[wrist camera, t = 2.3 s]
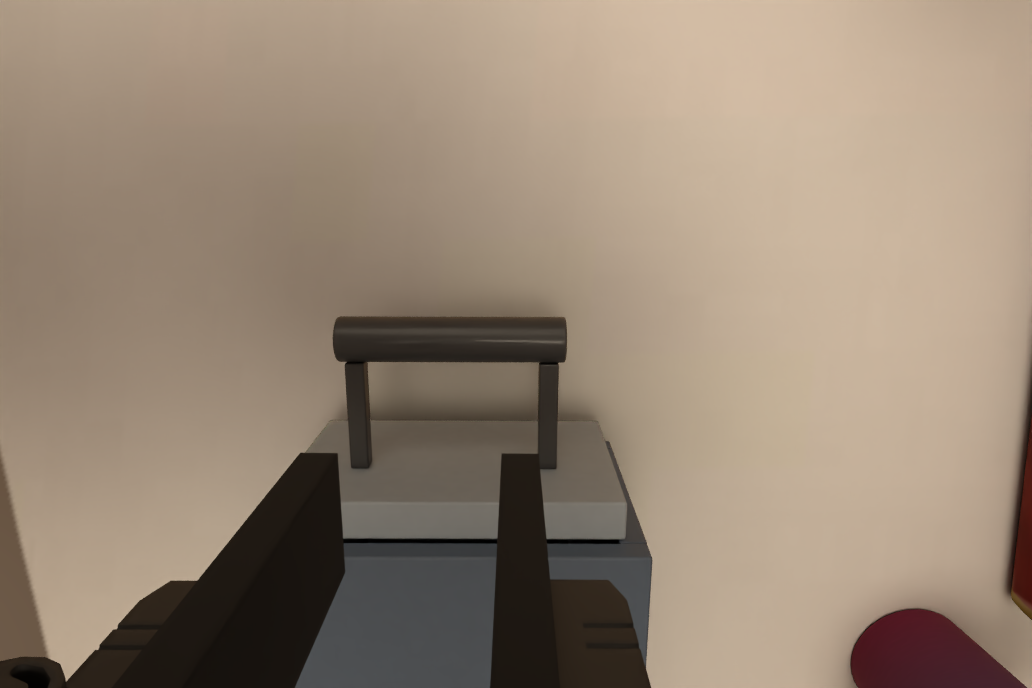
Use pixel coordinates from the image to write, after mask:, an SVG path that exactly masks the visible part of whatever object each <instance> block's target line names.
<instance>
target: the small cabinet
mask: <svg viewBox="0 0 1032 688" xmlns="http://www.w3.org/2000/svg"><path fill="white" fill-rule="evenodd" d="M605 443H606V446H607V449H608V451H609V454H610V457H611V460H612V463H613V466H614V468H615V471H616V474H617V477H618V480H619V482H620V485H621V488H622V491H623V494H624V497H625V499H626V502H627V521H626V537H625V539H623V540H605V539H591V541H592V544H547V550H548V561H549V572H550V579H569V580H609V581H610V582H611V583H612V584H613V585H614V586H615V587H616V588H617V589H618V590H619V592H620V593H621V594H622V595H623V596H624V597H625V598H626V599H627V602H628V605H629V609H630V613H631V616H632V620H633V626H634V628H635V631H636V635H637V638H638V642H639V649H641V653H642V657H643V660H644V664H645V668H646V656H647V640H648V623H649V606H650V590H651V573H652V557H651V554H650V551H649V549H648V546H647V542H646V540H645V537H644V534H643V532H642V529H641V526H640V524H639V521H638V518H637V516H636V513H635V510H634V507H633V505H632V502H631V499H630V497H629V494H628V491H627V489H626V486H625V483H624V480H623V478H622V475H621V472H620V470H619V467H618V464H617V462H616V459H615V456H614V453H613V451H612V448H611V446H610V443H609V441H605ZM496 557H497V544H482V543H344V559H345V574H344V576H343V579H342V581H341V583H340V586H339V588H338V590H337V592H336V595H335V597H334V599H333V602H332V604H331V606H330V608H329V611H328V613H327V615H326V618H325V620H324V622H323V624H322V627H321V629H320V631H319V634H318V636H317V638H316V640H315V643H314V645H313V647H312V649H311V652H310V654H309V656H308V659H307V661H306V663H305V665H304V668H303V670H302V672H301V675H300V677H299V679H298V681H297V684H296V686H295V688H490V681H491V660H492V639H493V619H494V598H495V578H496Z"/></svg>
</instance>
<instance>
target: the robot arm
mask: <svg viewBox="0 0 1032 688" xmlns="http://www.w3.org/2000/svg"><path fill="white" fill-rule="evenodd" d="M344 574H345V559H344V543H343V528H342V512H341V496H340V481H339V465H338V453H300V454H299V455H298V456H297V458H296V459H295V460H294V461H293V463H292V464H291V465H290V466H289V468H288V469H287V470H286V471H285V473H284V474H283V475H282V476H281V478H280V479H279V480H278V481H277V483H276V484H275V485H274V486H273V488H272V489H271V490H270V491H269V492H268V494H267V495H266V496H265V497H264V499H263V500H262V501H261V502H260V504H259V505H258V506H257V507H256V509H255V510H254V511H253V512H252V514H251V515H250V516H249V517H248V519H247V520H246V521H245V522H244V524H243V525H242V526H241V527H240V529H239V530H238V531H237V532H236V534H235V535H234V536H233V537H232V539H231V540H230V541H229V542H228V543H227V545H226V546H225V547H224V548H223V550H222V551H221V552H220V553H219V555H218V556H217V557H216V558H215V560H214V561H213V562H212V563H211V565H210V566H209V567H208V568H207V570H206V571H205V572H204V573H203V575H202V576H201V577H200V578H199V580H198V581H170V582H168V583H167V584H165V585H164V586H162V587H160V588H159V589H157V590H156V591H154V592H153V593H151V594H150V595H148V596H146V597H145V598H143V599H142V600H140V601H139V602H138V603H137V604H136V605H135V606H134V608H133V609H132V610H131V611H130V612H129V613H128V614H127V615H126V616H125V618H124V619H123V620H122V621H121V622H120V623H119V624H118V628H117V630H113V631H112V632H111V633H110V634H109V635H108V636H107V637H106V639H105V640H104V641H103V642H102V643H101V644H100V648H99V650H95V651H94V652H93V653H92V654H91V655H90V656H89V657H88V658H87V660H86V661H85V662H84V663H83V664H82V665H81V666H80V667H79V668H78V670H77V671H76V672H75V673H74V674H73V675H72V676H71V677H70V678H69V679H68V681H67V682H66V680H65V676H64V673H63V670H62V668H61V665H60V664H59V663H57V662H55V661H52V660H50V659H48V658H46V657H19V658H14V659H9V660H5V661H0V688H295V686H296V684H297V681H298V679H299V677H300V675H301V672H302V670H303V668H304V665H305V663H306V661H307V659H308V656H309V654H310V652H311V649H312V647H313V645H314V643H315V640H316V638H317V636H318V634H319V631H320V629H321V627H322V624H323V622H324V620H325V618H326V615H327V613H328V611H329V608H330V606H331V604H332V602H333V599H334V597H335V595H336V592H337V590H338V588H339V586H340V583H341V581H342V579H343V576H344ZM490 688H651V686H650V682H649V679H648V675H647V671H646V668H645V664H644V660H643V657H642V653H641V649H639V642H638V638H637V635H636V631H635V628H634V626H633V620H632V616H631V613H630V609H629V605H628V602H627V599H626V598H625V597H624V596H623V595H622V594H621V593H620V592H619V590H618V589H617V588H616V587H615V586H614V585H613V584H612V583H611V582H610V581H609V580H569V579H550V572H549V561H548V550H547V539H546V528H545V517H544V506H543V495H542V484H541V473H540V462H539V454H523V453H502V454H501V475H500V495H499V516H498V536H497V557H496V578H495V598H494V619H493V639H492V660H491V681H490Z"/></svg>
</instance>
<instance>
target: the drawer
mask: <svg viewBox="0 0 1032 688" xmlns="http://www.w3.org/2000/svg"><path fill="white" fill-rule="evenodd" d="M333 348H334V354H335V357H336V359H337V360H338V361H339V362H346V363H345V378H346V395H347V412H348V420H331V421H330V422H329V423H328V424H327V425H326V427H325V428H324V429H323V431H322V432H321V433H320V434H319V436H318V437H317V438H316V439H315V441H314V442H313V443H312V445H311V446H310V447H309V448H308V450H307V451H306V452H305V453H338V465H339V481H340V496H341V512H342V528H343V543H482V544H497V536H498V516H499V495H500V475H501V454H502V453H523V454H539V462H540V473H541V484H542V495H543V506H544V517H545V528H546V539H547V544H592V541H591V539H605V540H623V539H625V537H626V521H627V502H626V499H625V497H624V494H623V491H622V488H621V485H620V482H619V480H618V477H617V474H616V471H615V468H614V466H613V463H612V460H611V457H610V454H609V451H608V449H607V446H606V443H605V440H604V437H603V435H602V432H601V429H600V426H599V423H598V422H597V421H558V379H559V364H558V363H563V362H565V360H566V352H567V326H566V319H565V318H564V317H354V316H340V317H338V318H337V319H336V322H335V325H334V330H333ZM367 362H539V381H538V421H415V420H370V403H369V383H368V363H367Z"/></svg>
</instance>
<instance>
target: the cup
mask: <svg viewBox="0 0 1032 688" xmlns="http://www.w3.org/2000/svg"><path fill="white" fill-rule="evenodd" d="M851 670H852V675H853V678H854V681H855V683H856V685H857V687H858V688H1027V687H1026V686H1025V685H1024V684H1022V683H1021V682H1020V681H1019V680H1018V679H1017V678H1016V677H1014V676H1013V675H1012V674H1011V673H1010V672H1009V671H1008V670H1006V669H1005V668H1004V667H1003V666H1002V665H1001V664H1000V663H998V662H997V661H996V660H995V659H994V658H993V657H992V656H990V655H989V654H988V653H987V652H986V651H985V650H984V649H982V648H981V647H980V646H979V645H978V644H977V643H975V642H974V641H973V640H972V639H971V638H970V637H969V636H967V635H966V634H965V633H964V632H963V631H962V630H961V629H959V628H958V627H957V626H956V625H955V624H954V623H953V622H951V621H950V620H949V619H947V618H946V617H944V616H942V615H941V614H938V613H935V612H932V611H928V610H921V609H912V610H904V611H899V612H895V613H893V614H890V615H887V616H885V617H883V618H881V619H880V620H878V621H876V622H875V623H874V624H873V625H871V626H870V627H869V628H868V629H867V630H866V631H865V632H864V633H863V634H862V635H861V637H860V638H859V640H858V642H857V643H856V645H855V648H854V650H853V653H852V659H851Z"/></svg>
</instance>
